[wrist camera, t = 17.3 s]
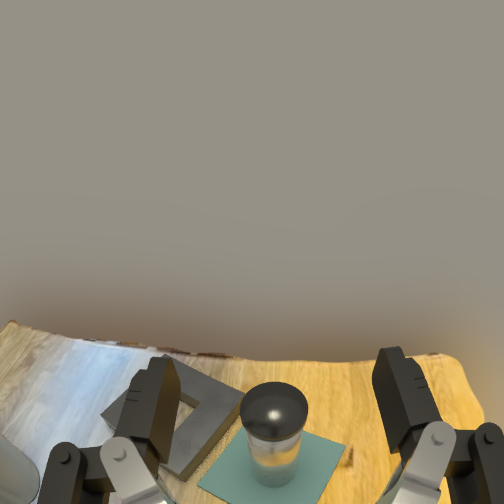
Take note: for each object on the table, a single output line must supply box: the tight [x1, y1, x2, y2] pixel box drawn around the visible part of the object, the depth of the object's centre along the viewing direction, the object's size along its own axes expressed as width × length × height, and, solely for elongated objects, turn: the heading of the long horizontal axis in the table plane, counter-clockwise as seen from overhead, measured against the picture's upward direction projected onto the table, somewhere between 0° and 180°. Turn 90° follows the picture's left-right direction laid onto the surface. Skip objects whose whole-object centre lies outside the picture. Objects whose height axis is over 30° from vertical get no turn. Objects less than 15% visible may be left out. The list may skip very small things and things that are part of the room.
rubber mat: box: [197, 426, 345, 504], centre depth 31 cm, size 13×13×1 cm
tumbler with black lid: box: [240, 382, 308, 488], centre depth 27 cm, size 5×5×15 cm
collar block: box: [100, 354, 245, 482], centre depth 37 cm, size 14×14×3 cm
